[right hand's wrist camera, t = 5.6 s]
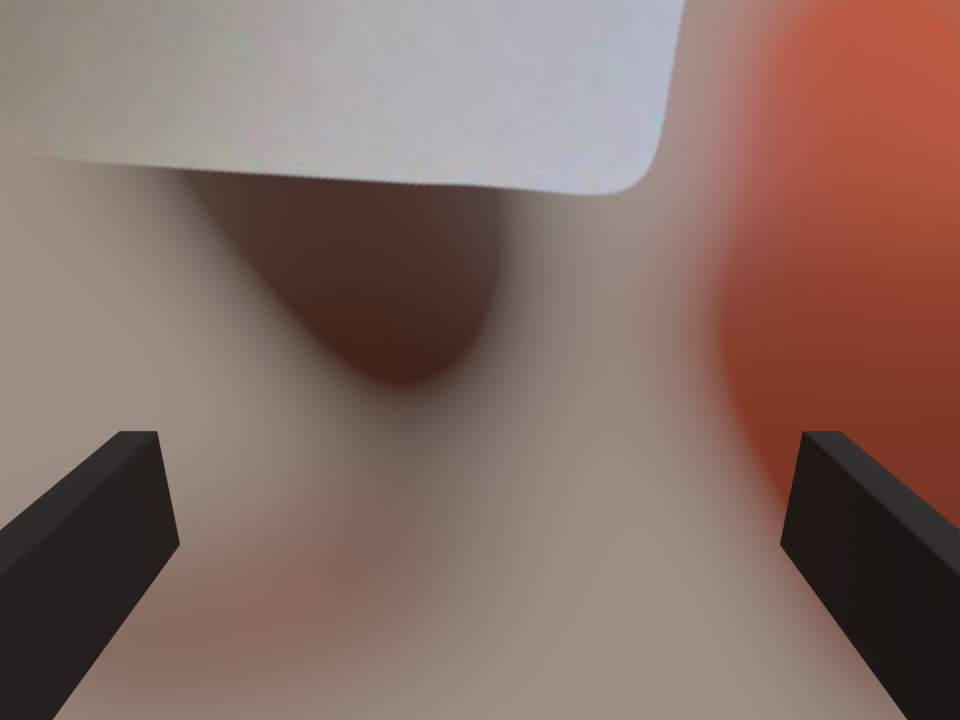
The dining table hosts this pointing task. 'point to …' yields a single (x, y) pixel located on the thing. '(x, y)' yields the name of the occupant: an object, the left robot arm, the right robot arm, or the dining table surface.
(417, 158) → the dining table surface
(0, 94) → the dining table surface
